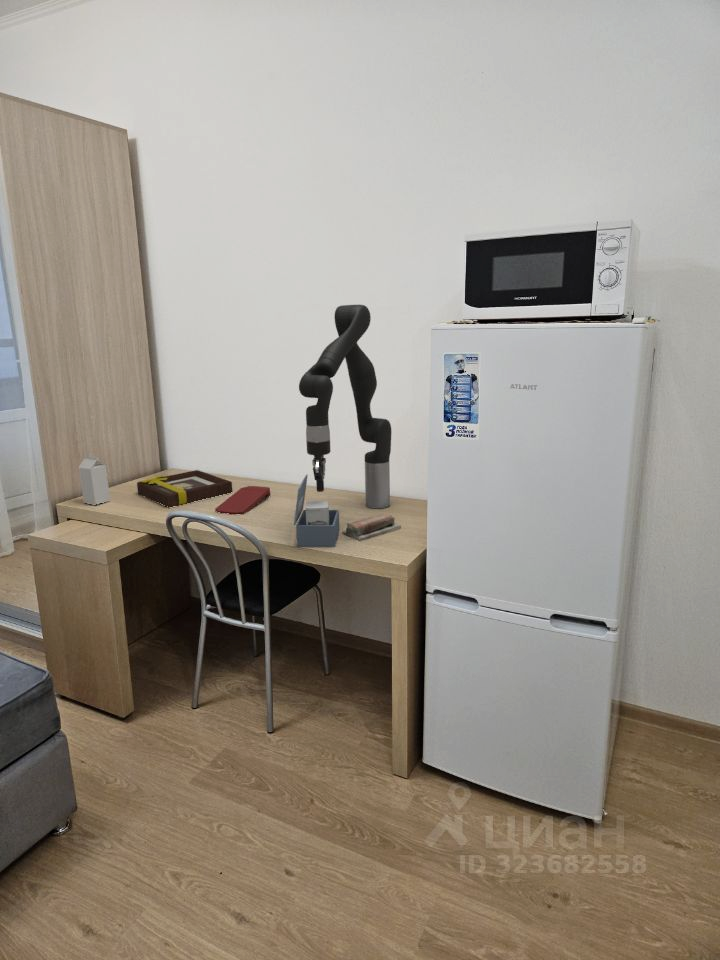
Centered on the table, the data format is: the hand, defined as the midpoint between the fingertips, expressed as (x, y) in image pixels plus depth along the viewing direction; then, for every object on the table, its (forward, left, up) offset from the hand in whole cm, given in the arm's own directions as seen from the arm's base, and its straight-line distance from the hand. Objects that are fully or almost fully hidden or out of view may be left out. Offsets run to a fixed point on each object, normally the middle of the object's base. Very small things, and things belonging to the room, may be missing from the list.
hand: (320, 491), depth 207 cm
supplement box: (+4, -1, -16) cm, 16 cm away
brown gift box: (-51, -63, -16) cm, 83 cm away
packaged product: (-5, +16, -16) cm, 24 cm away
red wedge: (-35, -34, -16) cm, 52 cm away
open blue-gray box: (+1, -1, -16) cm, 16 cm away
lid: (+1, -6, -2) cm, 7 cm away
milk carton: (-38, -95, -16) cm, 103 cm away
